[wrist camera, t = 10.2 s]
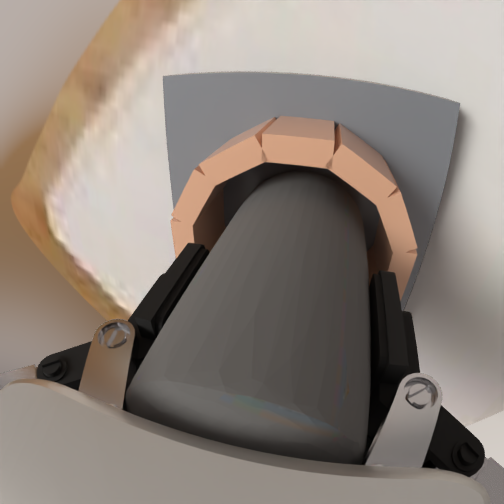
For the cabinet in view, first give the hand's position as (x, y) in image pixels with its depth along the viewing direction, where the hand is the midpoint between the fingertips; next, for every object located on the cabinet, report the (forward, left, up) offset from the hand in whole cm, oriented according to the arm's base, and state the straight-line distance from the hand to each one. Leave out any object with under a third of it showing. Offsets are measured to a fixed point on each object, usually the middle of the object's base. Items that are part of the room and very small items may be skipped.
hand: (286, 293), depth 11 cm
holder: (0, 0, -7) cm, 7 cm away
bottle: (0, 0, -5) cm, 5 cm away
